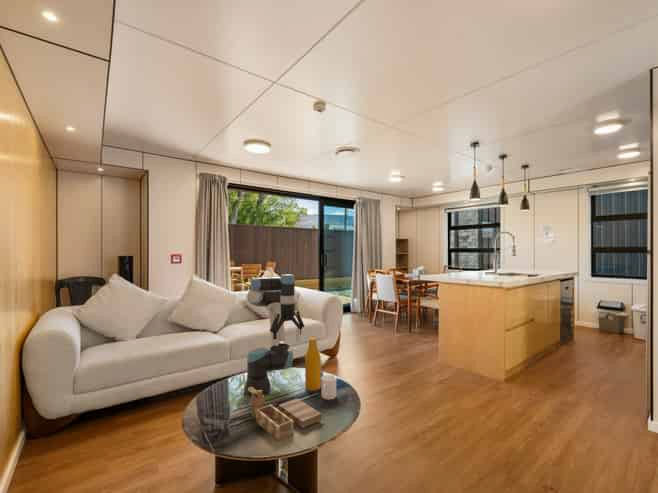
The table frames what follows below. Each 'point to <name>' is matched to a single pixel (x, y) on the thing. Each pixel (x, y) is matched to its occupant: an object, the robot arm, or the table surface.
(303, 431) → the felt mat
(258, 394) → the key
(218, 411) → the table surface
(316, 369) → the beer bottle
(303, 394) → the table surface
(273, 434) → the toolbox
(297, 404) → the lid
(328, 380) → the mug
